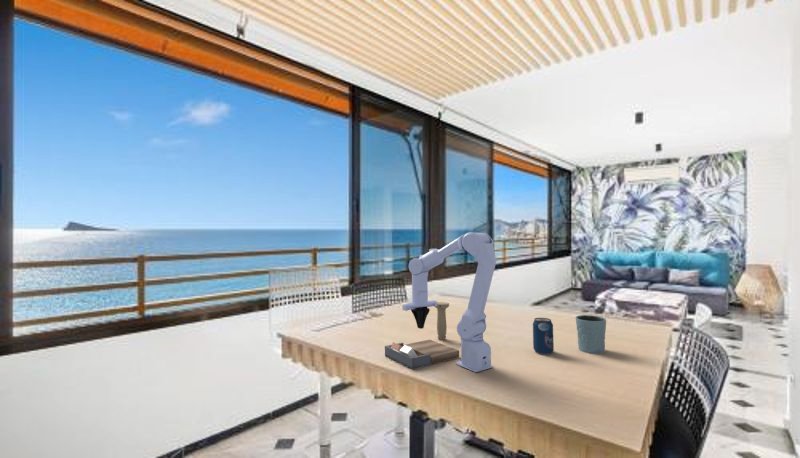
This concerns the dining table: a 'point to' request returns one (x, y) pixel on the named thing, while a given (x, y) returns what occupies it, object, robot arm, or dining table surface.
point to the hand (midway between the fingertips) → (420, 328)
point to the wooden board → (434, 350)
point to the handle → (441, 319)
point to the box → (407, 358)
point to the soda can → (543, 336)
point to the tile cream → (408, 351)
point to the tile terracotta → (396, 346)
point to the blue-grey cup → (591, 333)
